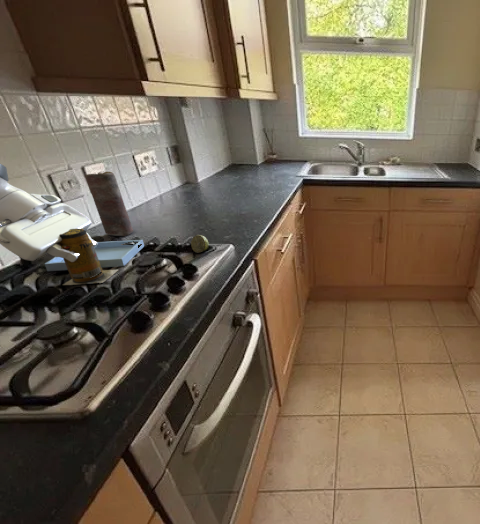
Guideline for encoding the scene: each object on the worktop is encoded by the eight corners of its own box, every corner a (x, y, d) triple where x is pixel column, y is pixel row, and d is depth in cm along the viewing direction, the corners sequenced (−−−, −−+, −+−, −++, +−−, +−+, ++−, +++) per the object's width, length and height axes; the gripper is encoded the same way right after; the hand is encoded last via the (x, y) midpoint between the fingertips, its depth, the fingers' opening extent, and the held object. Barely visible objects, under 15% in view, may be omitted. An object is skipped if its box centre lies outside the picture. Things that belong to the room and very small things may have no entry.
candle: (102, 239, 104) (80, 174, 96) (108, 231, 110) (88, 170, 102) (131, 236, 107) (112, 173, 99) (135, 229, 113) (118, 169, 105)
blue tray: (47, 271, 84) (44, 263, 83) (78, 250, 96) (75, 243, 95) (124, 266, 87) (121, 258, 86) (144, 246, 100) (142, 239, 99)
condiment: (82, 271, 84) (64, 227, 79) (119, 270, 85) (104, 225, 80) (62, 285, 77) (42, 238, 72) (103, 283, 78) (85, 236, 73)
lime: (209, 253, 96) (205, 237, 94) (190, 254, 95) (187, 238, 93) (211, 247, 100) (208, 232, 98) (193, 249, 99) (190, 233, 96)
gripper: (-12, 218, 63) (65, 261, 69) (59, 193, 81) (115, 229, 87) (-28, 240, 64) (49, 281, 70) (45, 211, 82) (102, 245, 88)
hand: (86, 252), depth 79 cm, fingers closed on condiment, 6 cm apart
